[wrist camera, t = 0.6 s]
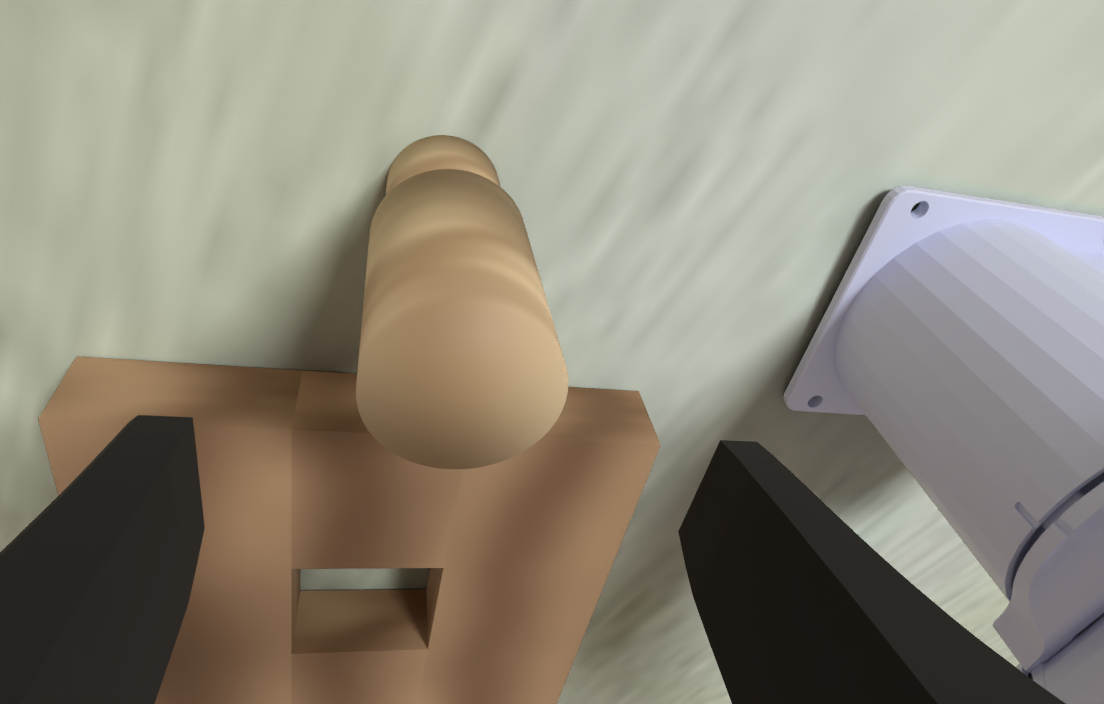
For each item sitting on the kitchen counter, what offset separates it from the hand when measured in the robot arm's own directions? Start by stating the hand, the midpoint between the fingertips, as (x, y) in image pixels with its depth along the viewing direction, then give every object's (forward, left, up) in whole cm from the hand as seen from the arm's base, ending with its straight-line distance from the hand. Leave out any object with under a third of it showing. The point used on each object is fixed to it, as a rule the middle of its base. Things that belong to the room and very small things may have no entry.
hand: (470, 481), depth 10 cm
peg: (0, 0, -10) cm, 10 cm away
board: (+1, +14, -10) cm, 17 cm away
